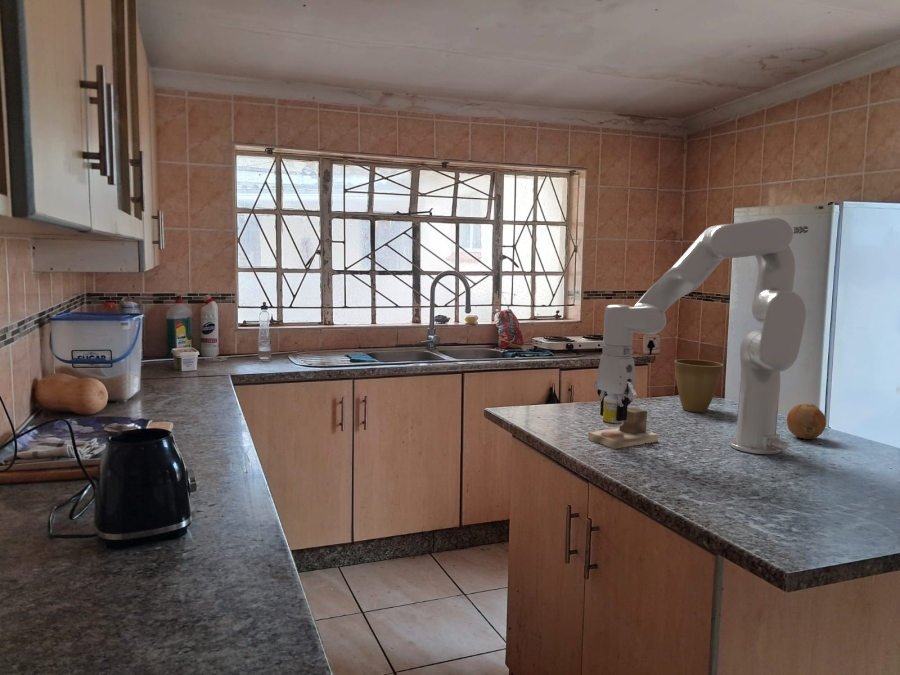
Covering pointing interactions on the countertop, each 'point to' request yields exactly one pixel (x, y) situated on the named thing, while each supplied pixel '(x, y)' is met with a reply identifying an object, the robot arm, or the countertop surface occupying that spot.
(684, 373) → the plant pot
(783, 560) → the countertop surface
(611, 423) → the supplement bottle
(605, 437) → the board
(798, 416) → the onion
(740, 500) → the countertop surface
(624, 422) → the walnut block
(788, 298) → the robot arm
